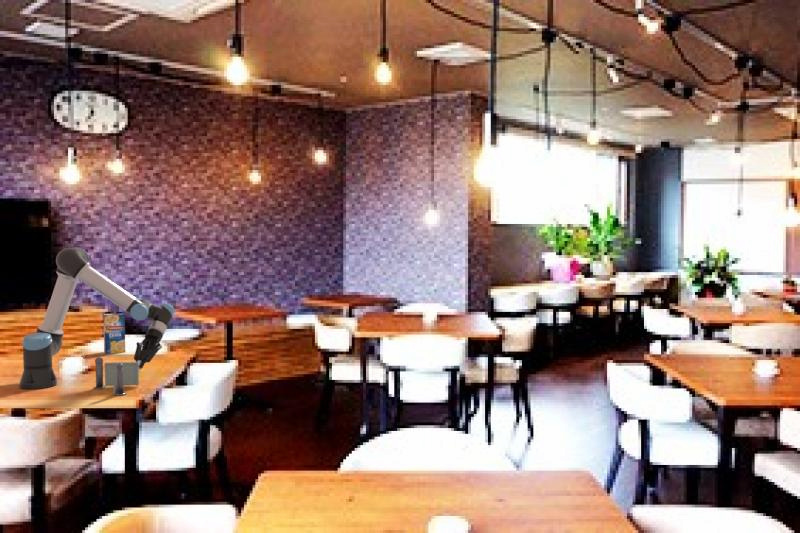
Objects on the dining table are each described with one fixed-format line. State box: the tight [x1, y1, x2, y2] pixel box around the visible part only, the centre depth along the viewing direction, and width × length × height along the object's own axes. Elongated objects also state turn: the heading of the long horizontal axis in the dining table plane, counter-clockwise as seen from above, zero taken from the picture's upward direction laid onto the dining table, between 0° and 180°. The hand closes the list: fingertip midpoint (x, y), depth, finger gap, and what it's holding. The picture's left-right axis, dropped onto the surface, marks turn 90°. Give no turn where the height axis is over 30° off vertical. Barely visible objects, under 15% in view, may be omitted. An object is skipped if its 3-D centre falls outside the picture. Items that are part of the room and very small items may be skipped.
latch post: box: [112, 362, 128, 397], centre depth 305 cm, size 6×5×14 cm
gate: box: [104, 361, 140, 387], centre depth 318 cm, size 14×2×10 cm, turn 100°
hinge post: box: [93, 356, 107, 390], centre depth 316 cm, size 5×5×14 cm
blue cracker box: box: [102, 312, 126, 355], centre depth 410 cm, size 7×11×22 cm, turn 118°
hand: (134, 373), depth 324 cm, fingers closed
